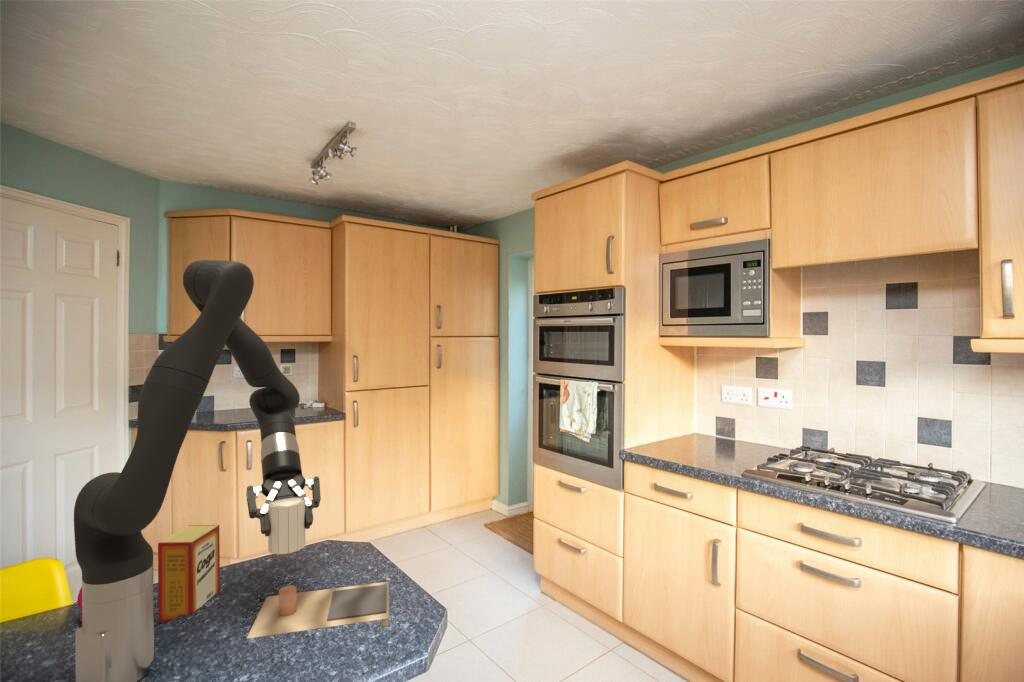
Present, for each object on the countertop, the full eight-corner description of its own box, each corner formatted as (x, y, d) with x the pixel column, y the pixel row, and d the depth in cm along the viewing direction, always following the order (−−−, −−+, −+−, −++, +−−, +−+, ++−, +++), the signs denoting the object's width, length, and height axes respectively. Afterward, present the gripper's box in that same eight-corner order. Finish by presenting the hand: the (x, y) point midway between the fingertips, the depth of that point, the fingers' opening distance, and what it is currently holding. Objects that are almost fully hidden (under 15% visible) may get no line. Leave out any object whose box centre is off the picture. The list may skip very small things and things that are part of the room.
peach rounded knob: (288, 617, 95) (288, 594, 95) (275, 615, 96) (275, 592, 96) (300, 608, 98) (299, 586, 98) (286, 606, 99) (286, 584, 99)
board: (389, 588, 109) (388, 579, 109) (388, 625, 94) (388, 616, 94) (266, 603, 103) (266, 594, 103) (246, 646, 88) (246, 636, 88)
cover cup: (289, 555, 93) (288, 508, 93) (261, 552, 94) (261, 505, 95) (312, 542, 99) (311, 498, 99) (285, 539, 101) (285, 495, 101)
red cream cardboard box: (189, 597, 106) (189, 523, 106) (219, 596, 106) (219, 523, 106) (158, 622, 96) (158, 541, 96) (191, 621, 96) (191, 541, 96)
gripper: (243, 452, 99) (247, 529, 89) (318, 444, 107) (329, 514, 97) (242, 473, 104) (245, 547, 94) (314, 464, 111) (324, 532, 101)
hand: (288, 530), depth 95 cm, fingers closed on cover cup, 6 cm apart
